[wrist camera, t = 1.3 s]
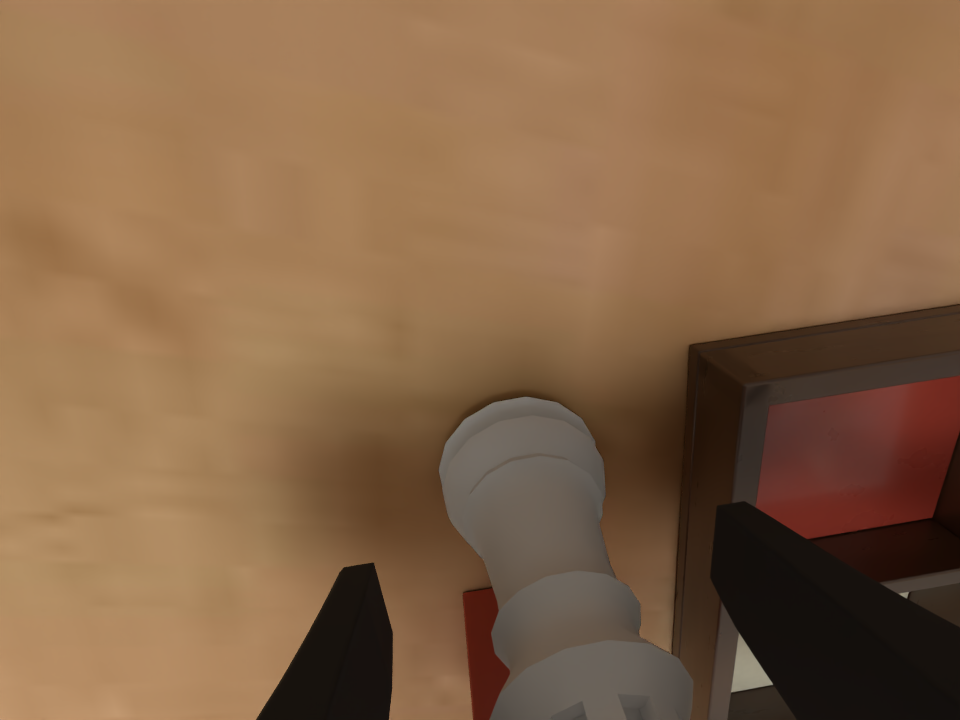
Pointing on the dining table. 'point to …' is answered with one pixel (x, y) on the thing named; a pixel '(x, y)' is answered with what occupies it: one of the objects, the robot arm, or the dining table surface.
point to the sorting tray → (820, 474)
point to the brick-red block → (483, 652)
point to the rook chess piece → (554, 570)
